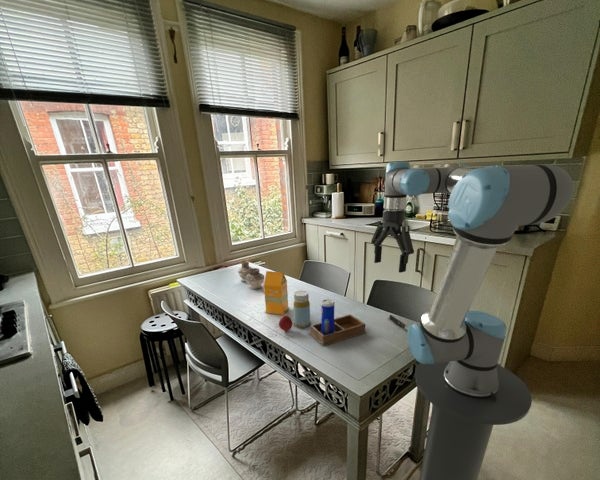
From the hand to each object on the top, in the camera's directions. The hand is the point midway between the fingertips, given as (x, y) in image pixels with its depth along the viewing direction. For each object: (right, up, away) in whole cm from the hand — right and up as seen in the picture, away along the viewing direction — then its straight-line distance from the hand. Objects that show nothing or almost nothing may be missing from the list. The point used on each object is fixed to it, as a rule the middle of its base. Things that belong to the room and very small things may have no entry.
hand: (389, 266), depth 120 cm
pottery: (-64, -2, +70) cm, 94 cm away
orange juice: (-45, -17, +35) cm, 60 cm away
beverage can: (-23, -27, +10) cm, 37 cm away
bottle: (-33, -23, +21) cm, 46 cm away
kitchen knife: (+10, -25, +15) cm, 30 cm away
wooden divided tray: (-18, -27, +13) cm, 35 cm away
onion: (-40, -26, +16) cm, 50 cm away
